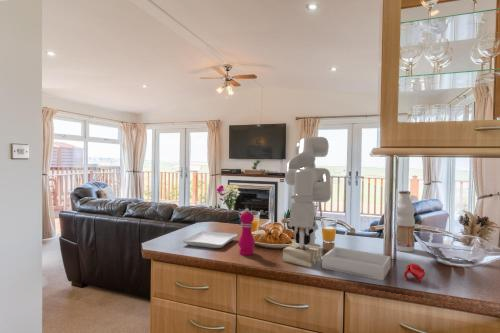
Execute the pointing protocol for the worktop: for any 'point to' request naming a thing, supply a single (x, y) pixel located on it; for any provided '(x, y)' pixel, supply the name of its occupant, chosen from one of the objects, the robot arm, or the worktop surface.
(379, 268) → the tray
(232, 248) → the worktop surface
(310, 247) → the pin block
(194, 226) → the worktop surface
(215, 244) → the salad plate
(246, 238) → the pepper mill
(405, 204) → the fruit juice
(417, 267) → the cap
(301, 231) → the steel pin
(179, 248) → the worktop surface
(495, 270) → the worktop surface
